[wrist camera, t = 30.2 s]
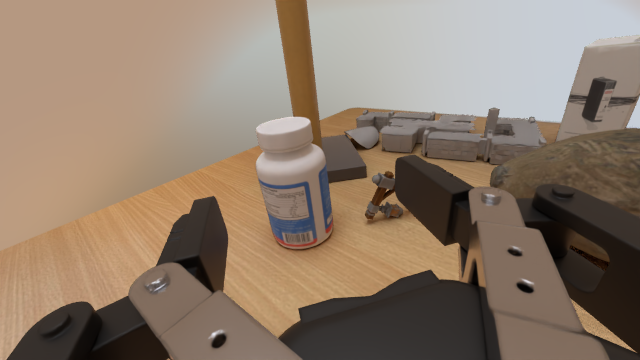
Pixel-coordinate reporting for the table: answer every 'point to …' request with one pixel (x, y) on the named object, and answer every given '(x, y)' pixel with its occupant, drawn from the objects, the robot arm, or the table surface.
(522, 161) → the stone
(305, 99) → the stand pole
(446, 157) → the architectural model
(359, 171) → the pole stand
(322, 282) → the table surface
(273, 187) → the pill bottle
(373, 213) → the brown grey jointed piece
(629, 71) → the ink box
